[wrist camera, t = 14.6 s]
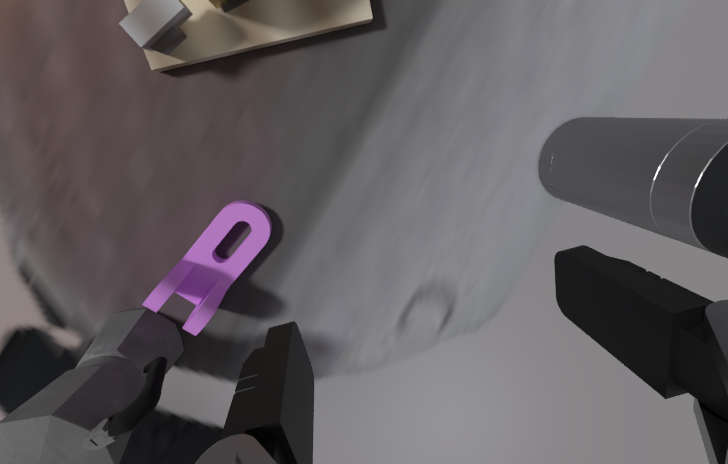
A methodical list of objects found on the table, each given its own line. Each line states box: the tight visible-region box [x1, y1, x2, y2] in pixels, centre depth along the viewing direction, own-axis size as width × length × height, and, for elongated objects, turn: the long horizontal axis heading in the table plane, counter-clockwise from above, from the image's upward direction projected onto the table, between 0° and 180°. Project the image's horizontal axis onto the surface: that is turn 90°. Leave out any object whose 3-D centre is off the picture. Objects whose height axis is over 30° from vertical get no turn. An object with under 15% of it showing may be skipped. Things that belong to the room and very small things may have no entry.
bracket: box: [142, 201, 272, 336], centre depth 35 cm, size 13×6×7 cm, turn 138°
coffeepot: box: [0, 309, 184, 464], centre depth 32 cm, size 15×9×18 cm, turn 118°
